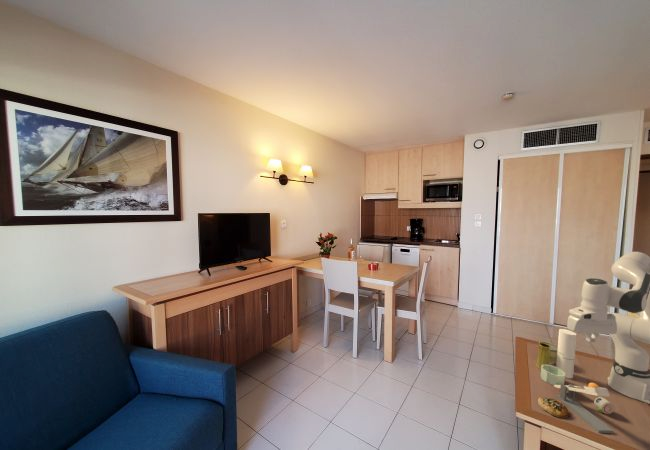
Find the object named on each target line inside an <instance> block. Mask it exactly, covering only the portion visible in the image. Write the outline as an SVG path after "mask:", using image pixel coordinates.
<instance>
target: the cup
mask: <svg viewBox="0 0 650 450" xmlns="http://www.w3.org/2000/svg"><path fill="white" fill-rule="evenodd" d="M540 379H541V380H543V382H545V383H547V384H548V385H551V386H554V385H561V384H564V385H565V379H566V378H565V372H563V371H562V370H561V369H559V368H557V367H556V366H554V365H552V364H550V365H542V366H541V370H540Z"/></svg>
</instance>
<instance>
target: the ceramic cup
mask: <svg viewBox="0 0 650 450" xmlns="http://www.w3.org/2000/svg"><path fill="white" fill-rule="evenodd" d="M539 343H545V344H547V345H549V346H550V365H555V364H556V363H557V350H558V344H554V343H552V342H549V341H539V342H538V344H539ZM554 363H555V364H554Z"/></svg>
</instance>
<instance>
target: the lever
mask: <svg viewBox="0 0 650 450" xmlns="http://www.w3.org/2000/svg"><path fill="white" fill-rule="evenodd" d="M564 385H565V386H566V387H567V391H569V390H571V391H575V392H577V393H583V394H586V395H592V396H595V397H596V396H597V397H611V395H610V392H609V390H608V388H606V387H600V386H599V387H600V388H592V387H588V386H586V385H584V386H577V385H573V386H574V387H575V388H572V387H569V384H568V385H567V384H564ZM553 387H555V388H556V389H560V388H561V385H553Z"/></svg>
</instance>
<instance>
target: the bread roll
mask: <svg viewBox="0 0 650 450" xmlns="http://www.w3.org/2000/svg"><path fill="white" fill-rule="evenodd" d="M537 404H538V405H539V407H540V409H542V410H543V411H545V412H546V413H548V414H549V415H551V416H553V417H556V418H561V419H565V418H568V417H569V416H570V411H569V409H568V407H567V406H566V405H565V404H564V403H563V402H561V401H559V400H556V399H554V398H549V397H544V396H543V397H538V399H537Z"/></svg>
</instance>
